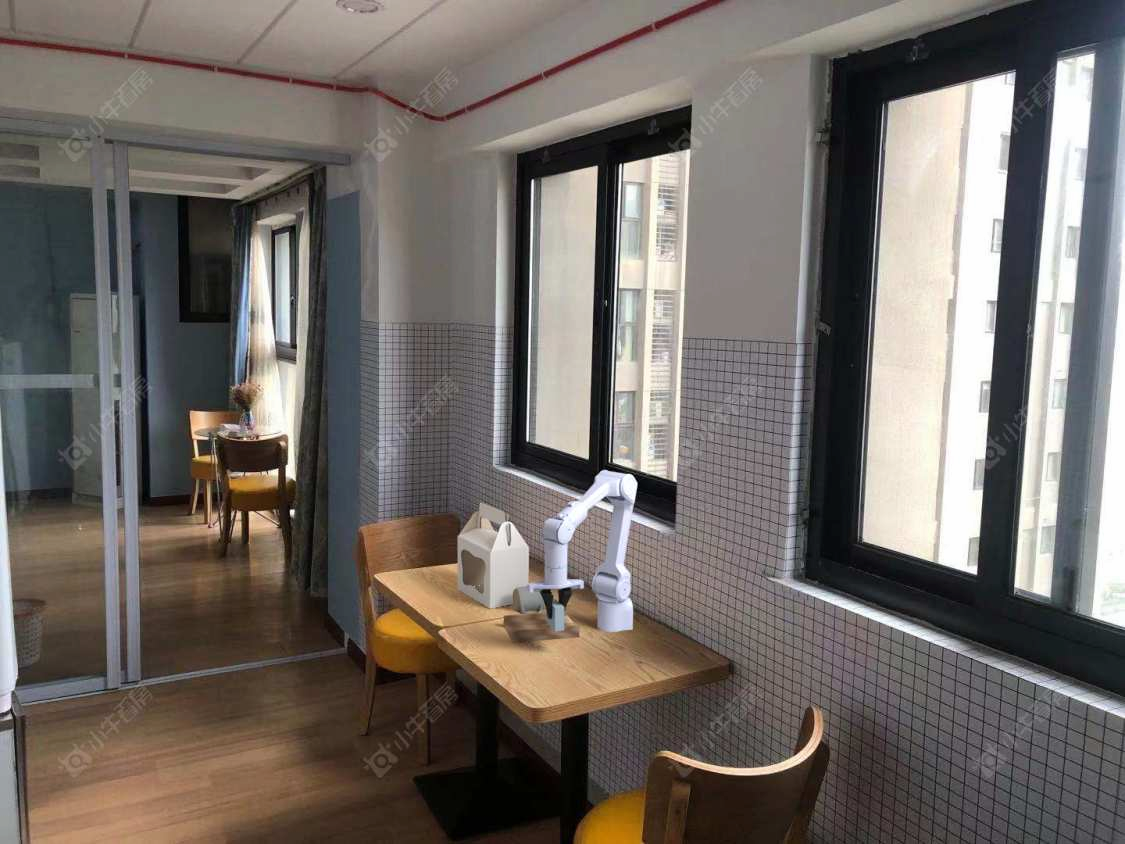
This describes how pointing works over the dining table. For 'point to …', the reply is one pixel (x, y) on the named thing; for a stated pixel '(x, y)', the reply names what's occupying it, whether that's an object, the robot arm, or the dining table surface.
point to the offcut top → (568, 621)
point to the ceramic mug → (527, 600)
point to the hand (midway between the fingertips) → (555, 617)
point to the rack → (536, 628)
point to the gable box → (491, 558)
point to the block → (556, 616)
